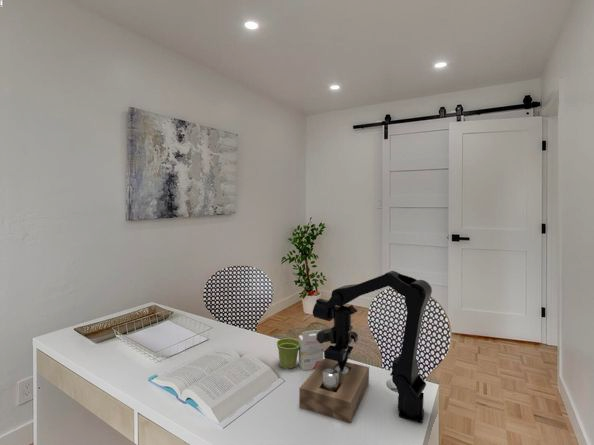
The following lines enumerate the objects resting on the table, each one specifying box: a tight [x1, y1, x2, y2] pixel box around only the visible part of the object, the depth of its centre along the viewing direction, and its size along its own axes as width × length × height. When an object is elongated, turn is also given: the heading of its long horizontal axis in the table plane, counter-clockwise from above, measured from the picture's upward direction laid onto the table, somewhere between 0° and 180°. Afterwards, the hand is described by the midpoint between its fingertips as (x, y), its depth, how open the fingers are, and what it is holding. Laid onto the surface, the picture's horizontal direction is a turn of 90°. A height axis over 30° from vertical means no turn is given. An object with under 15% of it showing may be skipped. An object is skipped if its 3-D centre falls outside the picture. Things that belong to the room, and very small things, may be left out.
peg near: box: [323, 369, 339, 392], centre depth 97 cm, size 5×5×6 cm
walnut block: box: [298, 357, 370, 424], centre depth 102 cm, size 16×22×6 cm
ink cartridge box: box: [298, 329, 324, 372], centre depth 121 cm, size 9×5×15 cm, turn 106°
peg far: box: [335, 366, 349, 375], centre depth 107 cm, size 5×5×6 cm
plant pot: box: [275, 337, 300, 370], centre depth 121 cm, size 9×9×9 cm
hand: (341, 369), depth 107 cm, fingers closed, pressing on peg far
